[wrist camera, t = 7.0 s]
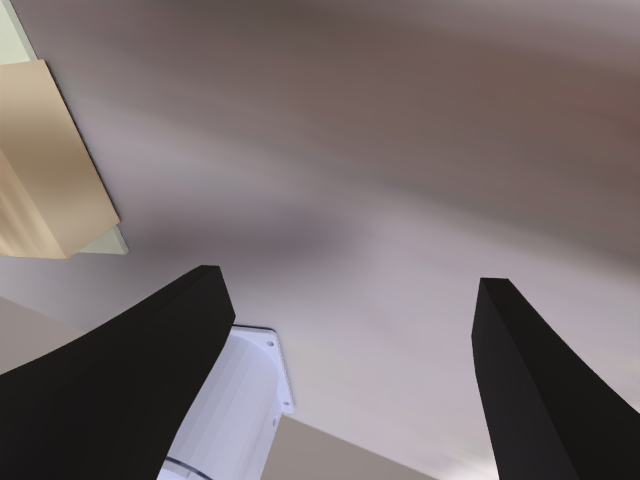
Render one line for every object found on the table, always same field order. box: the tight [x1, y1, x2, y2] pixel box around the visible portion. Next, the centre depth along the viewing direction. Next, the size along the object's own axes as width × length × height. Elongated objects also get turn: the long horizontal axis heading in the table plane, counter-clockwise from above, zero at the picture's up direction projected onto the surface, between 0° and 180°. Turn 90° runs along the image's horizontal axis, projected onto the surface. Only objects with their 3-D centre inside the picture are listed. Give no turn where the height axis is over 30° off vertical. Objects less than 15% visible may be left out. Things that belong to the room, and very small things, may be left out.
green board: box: [0, 0, 129, 255], centre depth 21 cm, size 14×10×1 cm
